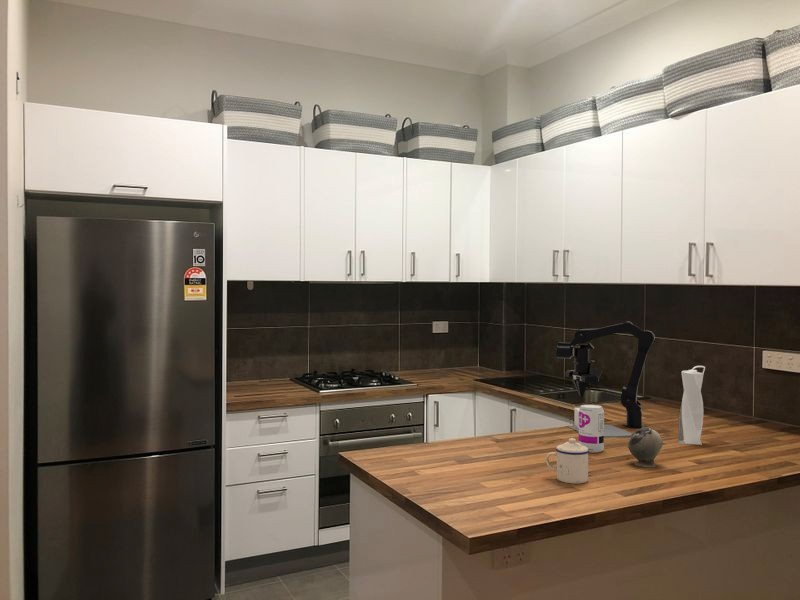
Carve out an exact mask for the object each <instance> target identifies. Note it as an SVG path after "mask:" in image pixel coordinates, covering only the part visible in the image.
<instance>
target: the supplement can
mask: <svg viewBox="0 0 800 600" xmlns="http://www.w3.org/2000/svg"><path fill="white" fill-rule="evenodd" d="M579 408H580V409H579V432H578V443H579V444H581V445H582V446H585V447H587V448H588V450H589V452H588V453H593V454H595V453H596V454H597V453H602V452H603V451H604V450H605V437H604V425H605V411H604V408H603V406H601V405H597V404H582V405H580V407H579Z"/></svg>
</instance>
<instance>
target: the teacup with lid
mask: <svg viewBox="0 0 800 600" xmlns="http://www.w3.org/2000/svg"><path fill="white" fill-rule="evenodd" d="M555 451H556V452H555ZM555 451H554V452H553V451H551V452H548V453H547V454H546V456H545V462H546V465H547V466H548V468H549V469H551V470H554V471H556V479H557V481H559V482H561V483H566V484H576V485H577V484H584V483H587V482H588V481H589V453H590V452H589V450H588V448H587V447H585V446H582V445H581V444H579V442H577V440H576V438H574V437H572V438H568V441H566V442H564V443H561V444H558V445H557V446H556V448H555ZM550 456H556V466H554V465H552V464H551V463H550V461H549V457H550Z"/></svg>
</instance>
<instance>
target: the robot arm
mask: <svg viewBox="0 0 800 600" xmlns="http://www.w3.org/2000/svg"><path fill="white" fill-rule="evenodd" d="M625 332H627V333H628V334H630V335H632V336H634V337H635V338H637V339H638V343H637V345H638V346H637V353H636V356H635V361H634V364H633V367H632V371H631V374H630V378H629V381H628V384H627V386H626V387H625V386H623V387H622V389H621V395H620V396H619V398H620V403H621V405H622V406H623V407H624V408H625V410H626V413H625V414H626V417H625V421H626V423H622V426H625V427H627V426H628V428H631V429H632V428H633V429H635V428H636V427H638V428H642V427H643V426H644V424H642V423H643V419H642V418H643V415H642V412H643V411H642V407H643V404H642V403H641V402H640V401H639V400H638V388H639V383H640V379H641V376H642V373H643V369H644V366H645V363H646V359H647V356H648V353H649V351H650V349H651V348H652V345H653V343H654V341H655V338H656V335H655V334H654V332H652V331H651V330H647V329H646V330H644V329H642V327H639V326H637V325H635V324H634V323H632V322H631V321H625V322H621V323H616V324H612V325H607V326H604V327H600V328H599V327H598V328H582V329H581V328H580V329H578V330H576V331H575V333H574V336H573V337H574V338H573V339H572V340H571V341H570V342H562V341H559V342H557V345H556V350H555V354H556V359H566V360H567V359H569V360H570V359H572V357H574V360H573V361H572V365H574V369H570V370H569V369H567V370H566V371H565V372H564V373H565V377H566V378H570V377H573V378H571V381H572V383H573V385H574V387H575V390H576V391H577V393H578V396H579V397H581V398H582V397H584V395H585V392H586V389H587V387H588V385H589V384H590V383H599V382H600V377H601V376H602V373H603V369H601V368H598V367H596V365H593V363H592V362H591V361H590V350H593V349H595V347H594V346H593V344H592V343H591V342H589V341H593V340H595V339H597V338H601V337H605V336H611V335H616V334H620V333H625ZM587 342H589V343H588V344H585V343H587ZM579 344H580V346H577V345H579Z"/></svg>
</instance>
